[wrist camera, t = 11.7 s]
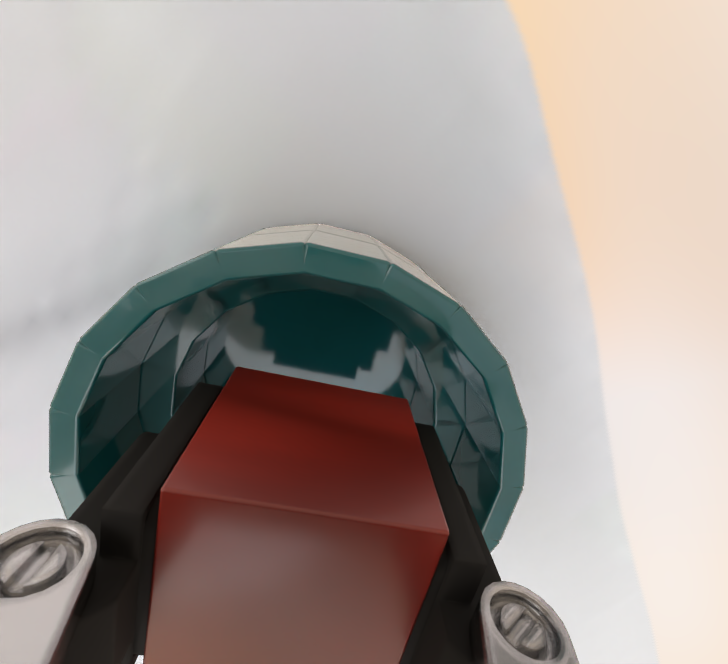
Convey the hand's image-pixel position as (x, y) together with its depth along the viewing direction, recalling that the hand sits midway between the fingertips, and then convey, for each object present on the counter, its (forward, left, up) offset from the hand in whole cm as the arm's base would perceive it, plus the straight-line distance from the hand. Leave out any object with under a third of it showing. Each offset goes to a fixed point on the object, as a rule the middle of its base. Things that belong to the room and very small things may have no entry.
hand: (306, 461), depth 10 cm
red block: (0, 0, 0) cm, 0 cm away
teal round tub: (0, 0, -5) cm, 5 cm away
